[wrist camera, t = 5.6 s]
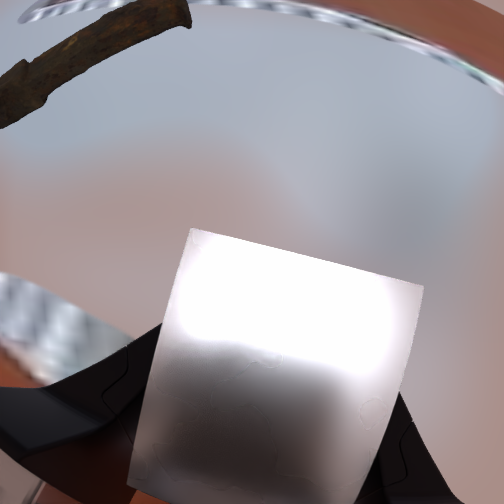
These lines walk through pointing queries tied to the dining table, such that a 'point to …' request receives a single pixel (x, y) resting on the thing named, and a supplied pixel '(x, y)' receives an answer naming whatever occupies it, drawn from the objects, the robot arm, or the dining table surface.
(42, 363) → the dining table surface
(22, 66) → the dark brown rod
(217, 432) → the pale upright block
